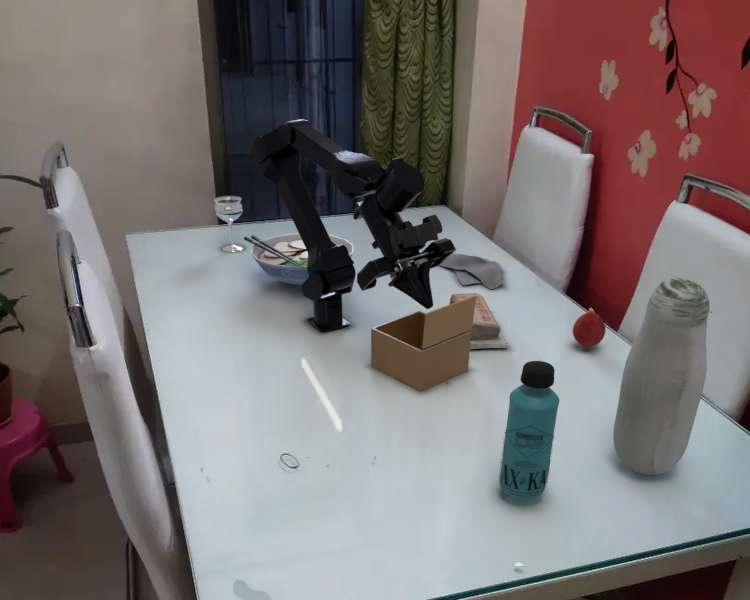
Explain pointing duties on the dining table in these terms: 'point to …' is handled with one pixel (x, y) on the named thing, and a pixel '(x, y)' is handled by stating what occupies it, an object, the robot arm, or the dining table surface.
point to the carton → (417, 353)
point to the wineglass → (229, 215)
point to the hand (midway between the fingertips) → (430, 307)
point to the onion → (589, 329)
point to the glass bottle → (663, 379)
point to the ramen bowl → (286, 256)
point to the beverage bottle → (529, 433)
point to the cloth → (474, 270)
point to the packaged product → (482, 324)
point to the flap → (448, 321)
